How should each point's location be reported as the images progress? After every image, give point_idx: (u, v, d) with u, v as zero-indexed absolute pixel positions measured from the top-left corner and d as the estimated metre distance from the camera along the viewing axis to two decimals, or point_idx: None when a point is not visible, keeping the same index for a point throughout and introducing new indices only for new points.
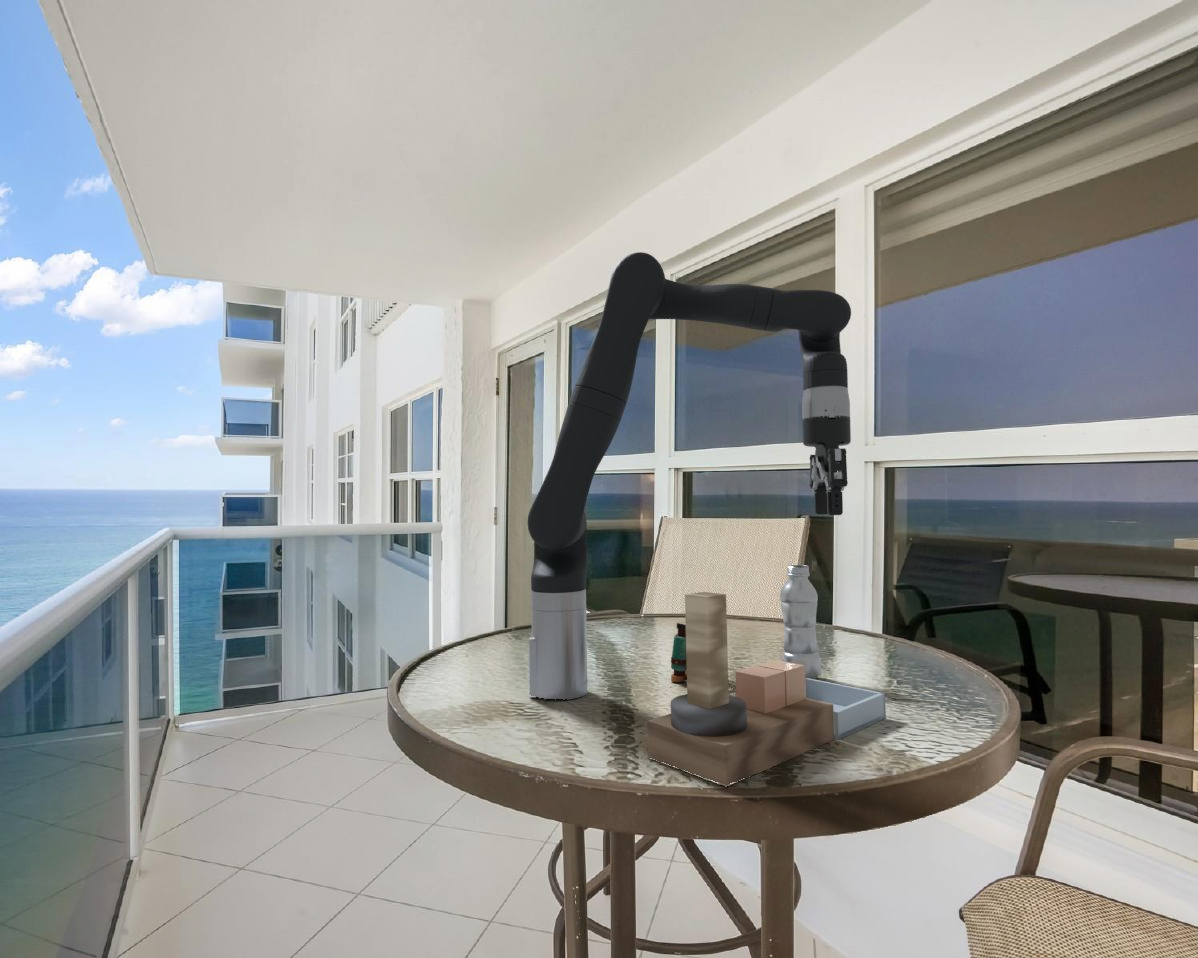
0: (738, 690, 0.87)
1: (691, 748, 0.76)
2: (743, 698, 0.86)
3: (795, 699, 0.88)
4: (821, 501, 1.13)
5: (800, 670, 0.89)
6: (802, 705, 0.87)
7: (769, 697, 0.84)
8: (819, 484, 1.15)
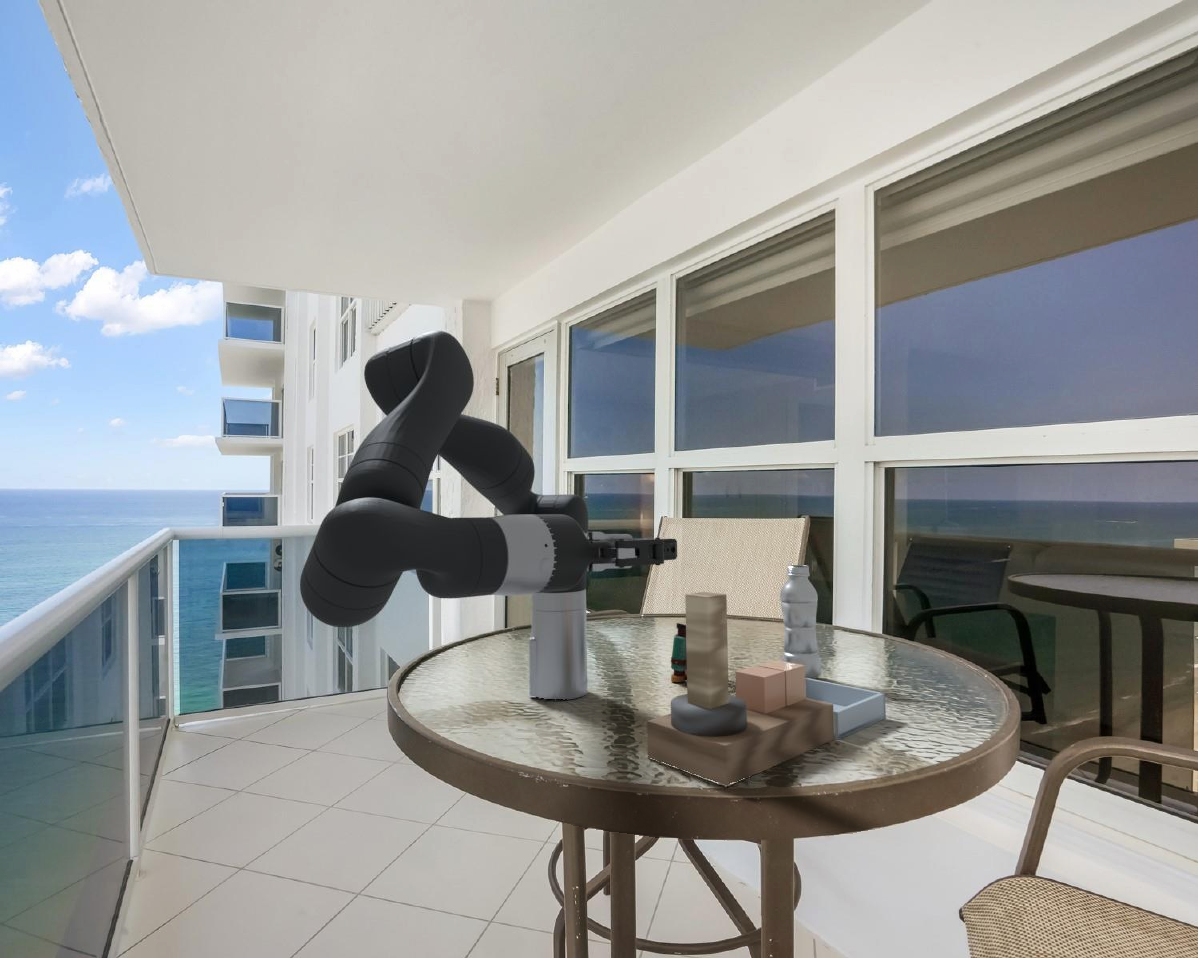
0: (738, 690, 0.87)
1: (691, 748, 0.76)
2: (743, 698, 0.86)
3: (795, 699, 0.88)
4: None
5: (800, 670, 0.89)
6: (802, 705, 0.87)
7: (769, 697, 0.84)
8: None
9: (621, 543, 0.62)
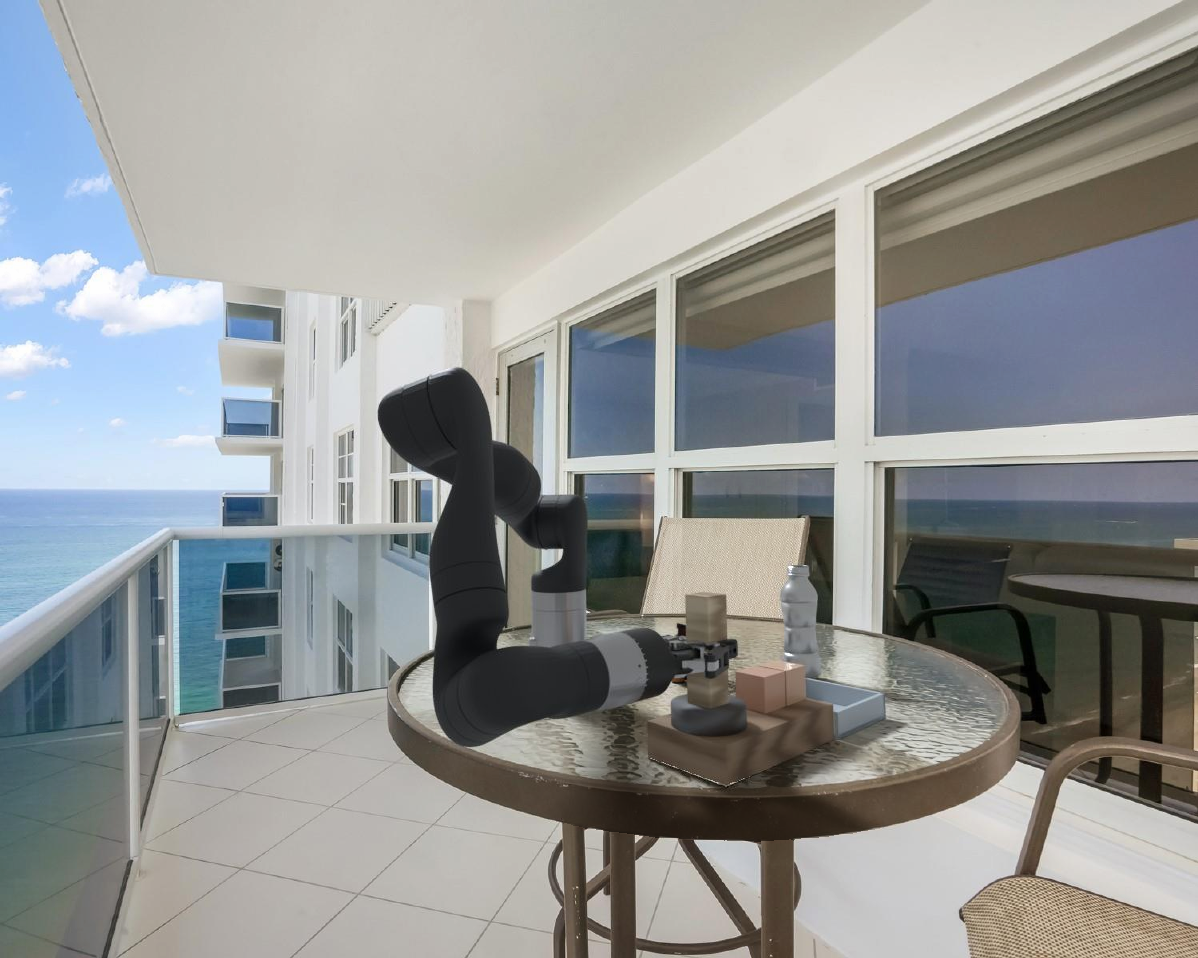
0: (738, 690, 0.87)
1: (691, 748, 0.76)
2: (743, 698, 0.86)
3: (795, 699, 0.88)
4: None
5: (800, 670, 0.89)
6: (802, 705, 0.87)
7: (769, 697, 0.84)
8: None
9: (713, 657, 0.71)
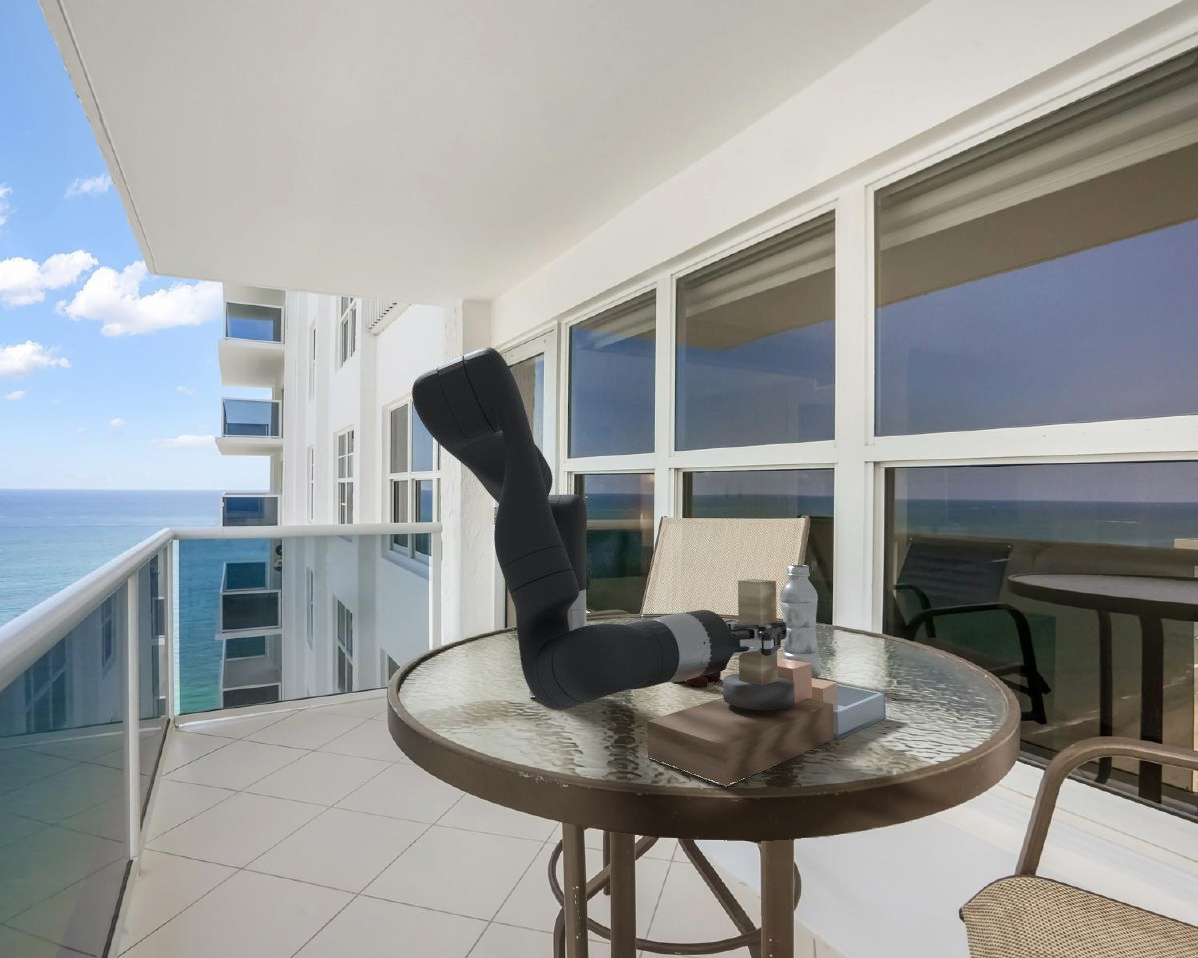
0: None
1: (691, 748, 0.76)
2: None
3: None
4: None
5: (836, 707, 0.95)
6: (802, 705, 0.87)
7: (797, 688, 0.88)
8: None
9: (769, 636, 0.78)
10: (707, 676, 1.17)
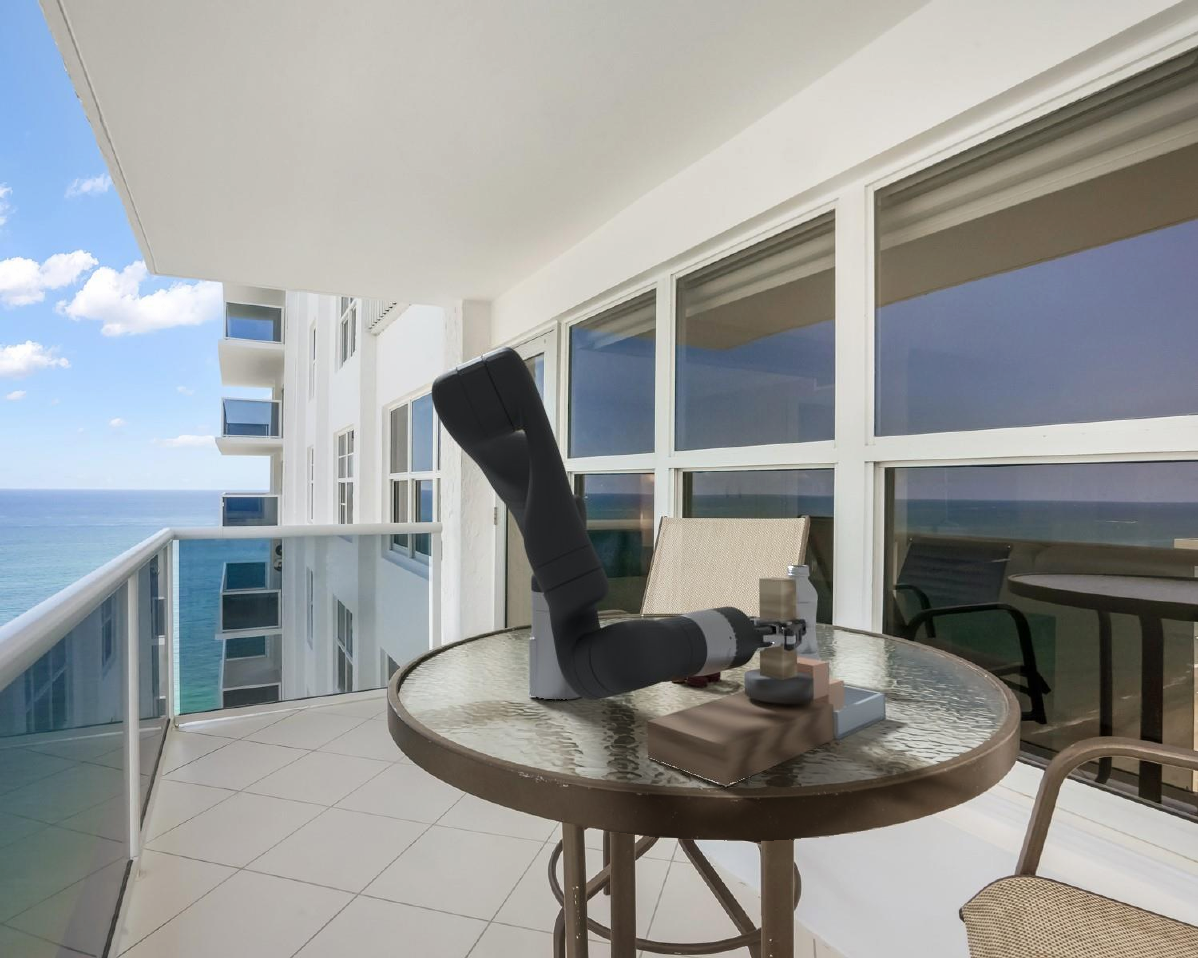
0: None
1: (691, 748, 0.76)
2: None
3: (830, 698, 0.94)
4: None
5: (842, 704, 0.96)
6: (802, 705, 0.87)
7: (816, 684, 0.91)
8: None
9: (791, 632, 0.81)
10: (707, 676, 1.17)
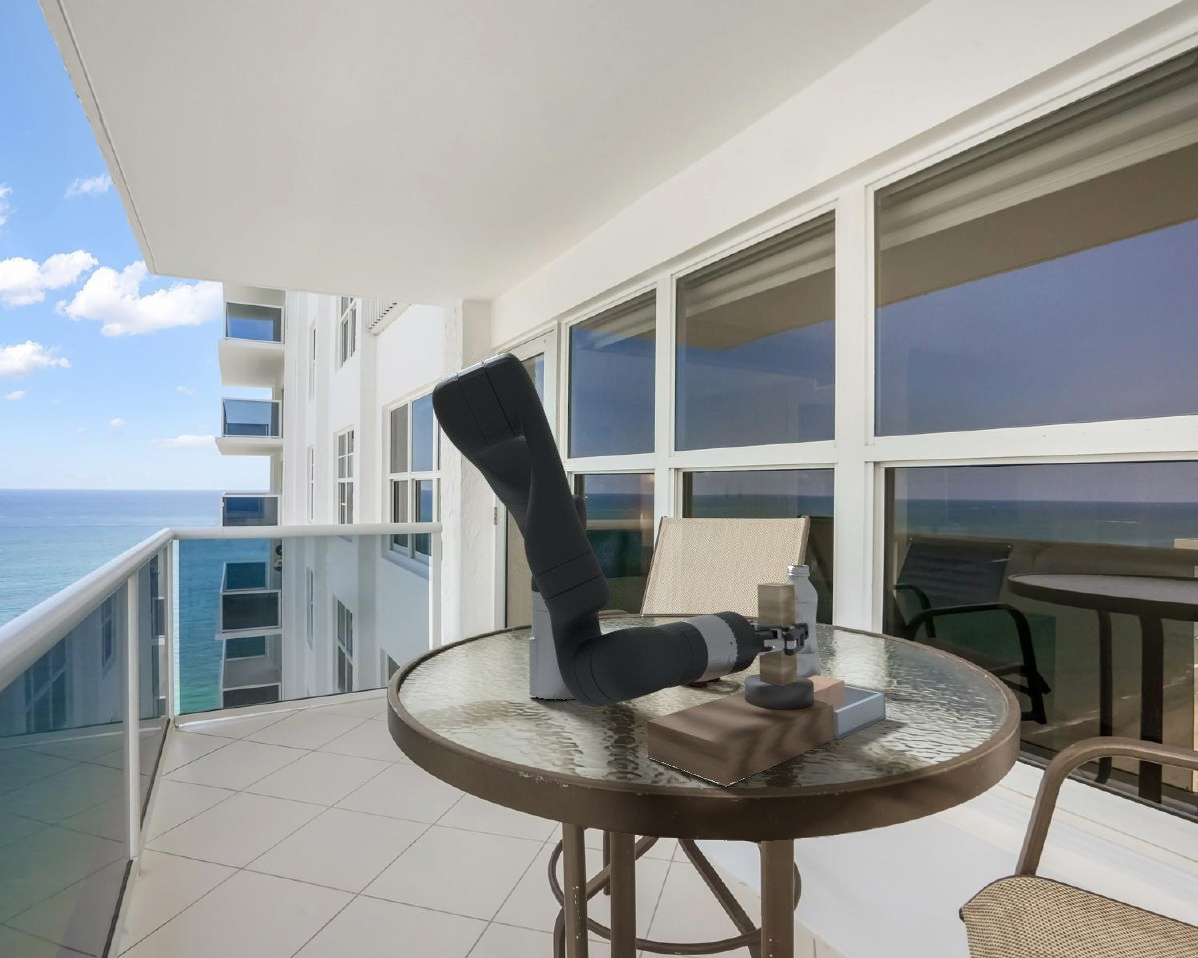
0: None
1: (691, 748, 0.76)
2: None
3: (830, 699, 0.94)
4: None
5: (843, 704, 0.96)
6: None
7: None
8: None
9: (792, 637, 0.81)
10: None
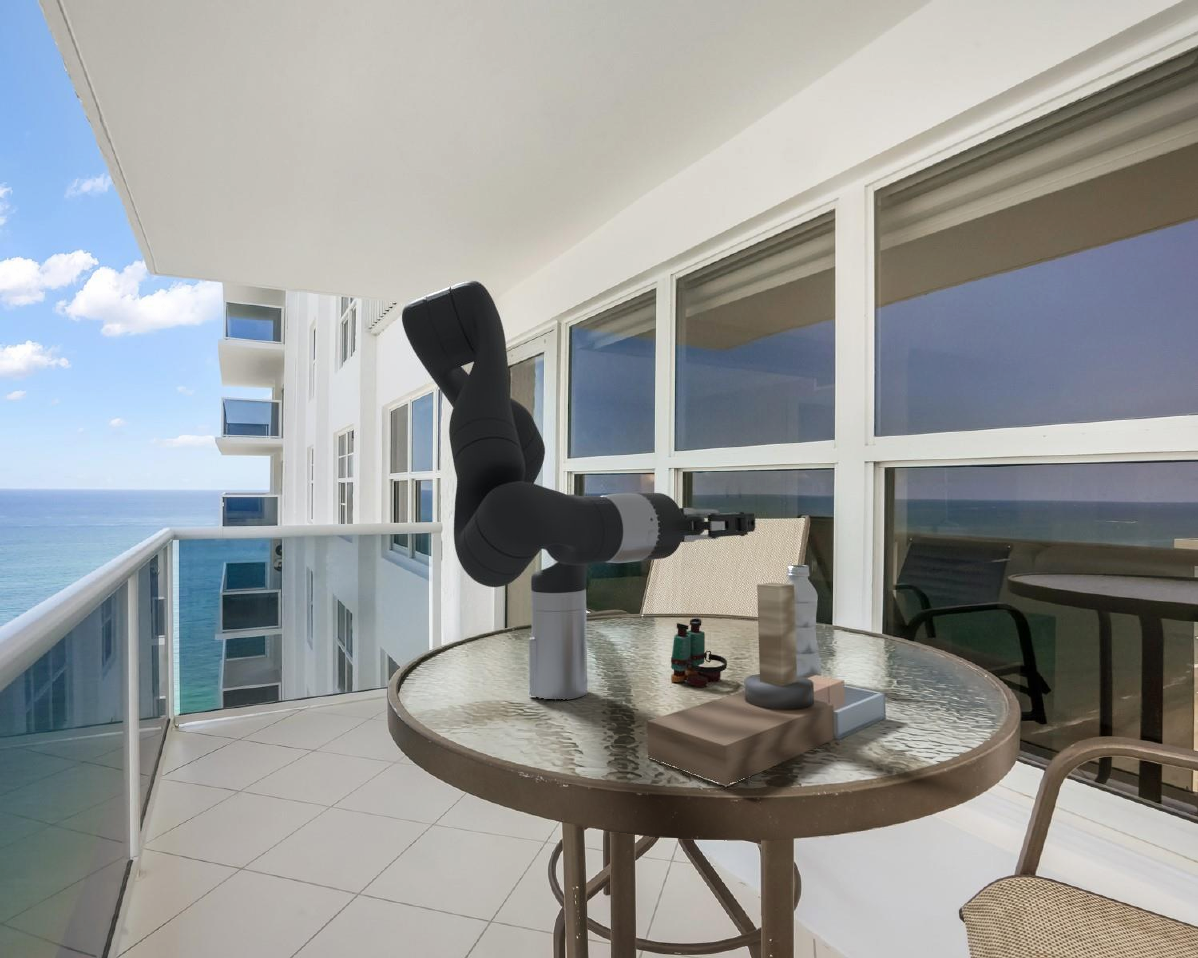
0: None
1: (691, 748, 0.76)
2: None
3: (830, 699, 0.94)
4: None
5: (843, 704, 0.96)
6: None
7: None
8: None
9: (714, 517, 0.72)
10: (707, 676, 1.17)
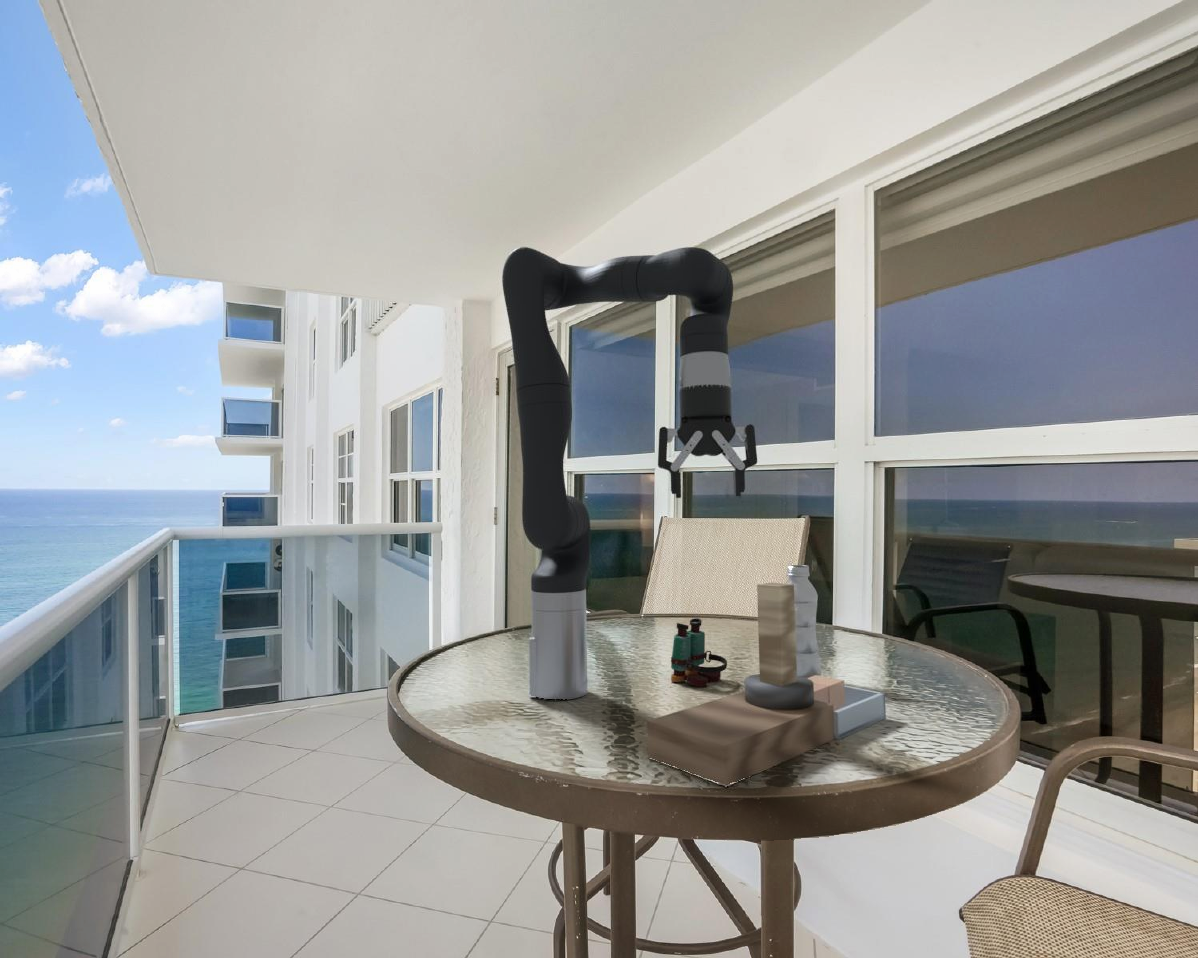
0: None
1: (691, 748, 0.76)
2: None
3: (830, 699, 0.94)
4: (734, 481, 0.97)
5: (843, 704, 0.96)
6: None
7: None
8: None
9: None
10: (707, 676, 1.17)
